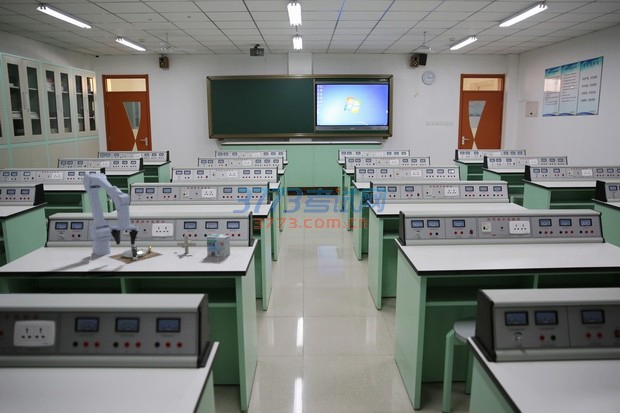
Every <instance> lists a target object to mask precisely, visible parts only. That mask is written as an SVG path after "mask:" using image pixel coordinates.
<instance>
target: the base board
mask: <svg viewBox="0 0 620 413" xmlns="http://www.w3.org/2000/svg"><path fill="white" fill-rule="evenodd" d="M142 249H143V250H146V251H147V254H146V255H145V256H142V257H138V260H133V258H124V257H122V253H123V252H121V253H117V254H113V255H108V258H110V259H114V260H117V261H120V262H122V263H124V264H125V263H126V264H129V265H130V264H133V263H137V262H141V261H144V260H147V259H151V258H156V257H160V256H164V254H162V253H158V252H155V251H153V250H151V253H148V249H145V248H142Z"/></svg>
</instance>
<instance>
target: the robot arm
mask: <svg viewBox="0 0 620 413" xmlns="http://www.w3.org/2000/svg"><path fill="white" fill-rule="evenodd" d="M82 183H83V187H84V191H85V192H86V193H87V196H88V201H89V205H90V209H91V213H92V219H93V223H92V224H91V225H90V227H89V234H90V238H91V239H92V240H93V241H92V242H91V246H92V248H91V249H92V253H93V254H95V255H96V256H107V255H110V254H111V242H110V239H111V238H112V237H113V239H114V240H115V243H116V246H118V245H120V244H121V231H127V232H128V231H129V232H128V234H129V237H130V245H131V246H133V245H135V244H136V243H135V242H136V239H137V236H138V233H139V231H140V226H139V225H138V226H136V225H135V226H134V225H131V216H130V205H131V204H132V198H131V195H130V194H129V193H125V192H123V191H122V190H121V189H119V188H118V187H117V185H116V186H115V185H113V186H112V184H111V182H109V181H108V180H107V175H106V174H104V172H101V173H99V172H98V173H90V174H89V173H88V174H87V173H86V174H84V176H83V178H82ZM102 189H103V190H105V191H106V194H107V196H109V197H110V198H111V200H113V204H114V208H115V210H116V216H117V225H112V226H111V224H110V222H108V221H107V220H106V219H105V216H104V211H103V208H102V207H103V206H102V203H101V198H100V193H99V191H100V190H102ZM93 254H90V255H91V256H92V255H93Z"/></svg>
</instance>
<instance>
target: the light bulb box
mask: <svg viewBox="0 0 620 413" xmlns="http://www.w3.org/2000/svg"><path fill="white" fill-rule="evenodd" d="M230 238H231V237H230V234H218V233H211V234H210V235H207V236H206V251H207V252H206V253H207V257H218V258H226V257H228V256H230V255H231V239H230Z"/></svg>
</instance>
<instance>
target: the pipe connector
mask: <svg viewBox="0 0 620 413" xmlns="http://www.w3.org/2000/svg"><path fill="white" fill-rule="evenodd" d="M183 238H184V241H183V242H182V241H181V242H179V241H178V242H176V245H177V246H179V247H181V248H182V249H184V253H185V254H189V252H190V251H189V247H196V245H197V243H196V242H192V240H189V239H188V238H189V236H188V234H184V237H183Z"/></svg>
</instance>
